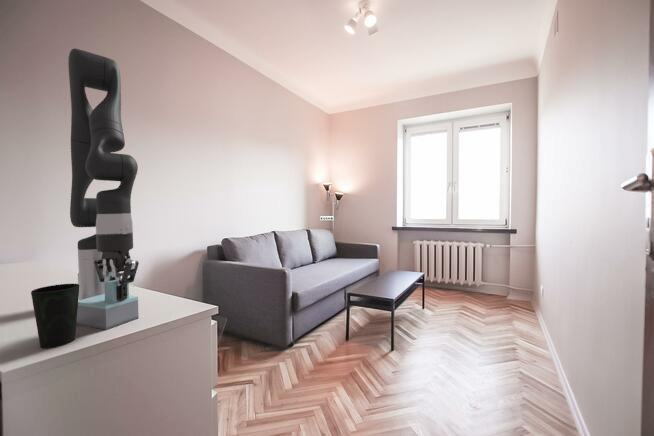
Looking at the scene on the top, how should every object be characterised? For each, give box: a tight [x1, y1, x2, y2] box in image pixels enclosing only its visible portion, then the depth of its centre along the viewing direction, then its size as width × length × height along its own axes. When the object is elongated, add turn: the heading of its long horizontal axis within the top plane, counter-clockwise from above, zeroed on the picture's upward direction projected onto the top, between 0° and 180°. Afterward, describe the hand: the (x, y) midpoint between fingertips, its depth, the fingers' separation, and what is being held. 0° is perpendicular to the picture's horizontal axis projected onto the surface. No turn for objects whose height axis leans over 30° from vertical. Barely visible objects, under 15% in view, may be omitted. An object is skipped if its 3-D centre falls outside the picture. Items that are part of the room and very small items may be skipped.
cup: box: [30, 283, 79, 349], centre depth 63 cm, size 8×8×12 cm
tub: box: [76, 299, 140, 331], centre depth 75 cm, size 12×8×5 cm, turn 69°
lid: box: [78, 280, 139, 309], centre depth 75 cm, size 12×8×7 cm, turn 69°
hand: (117, 299), depth 74 cm, fingers closed on lid, 3 cm apart
